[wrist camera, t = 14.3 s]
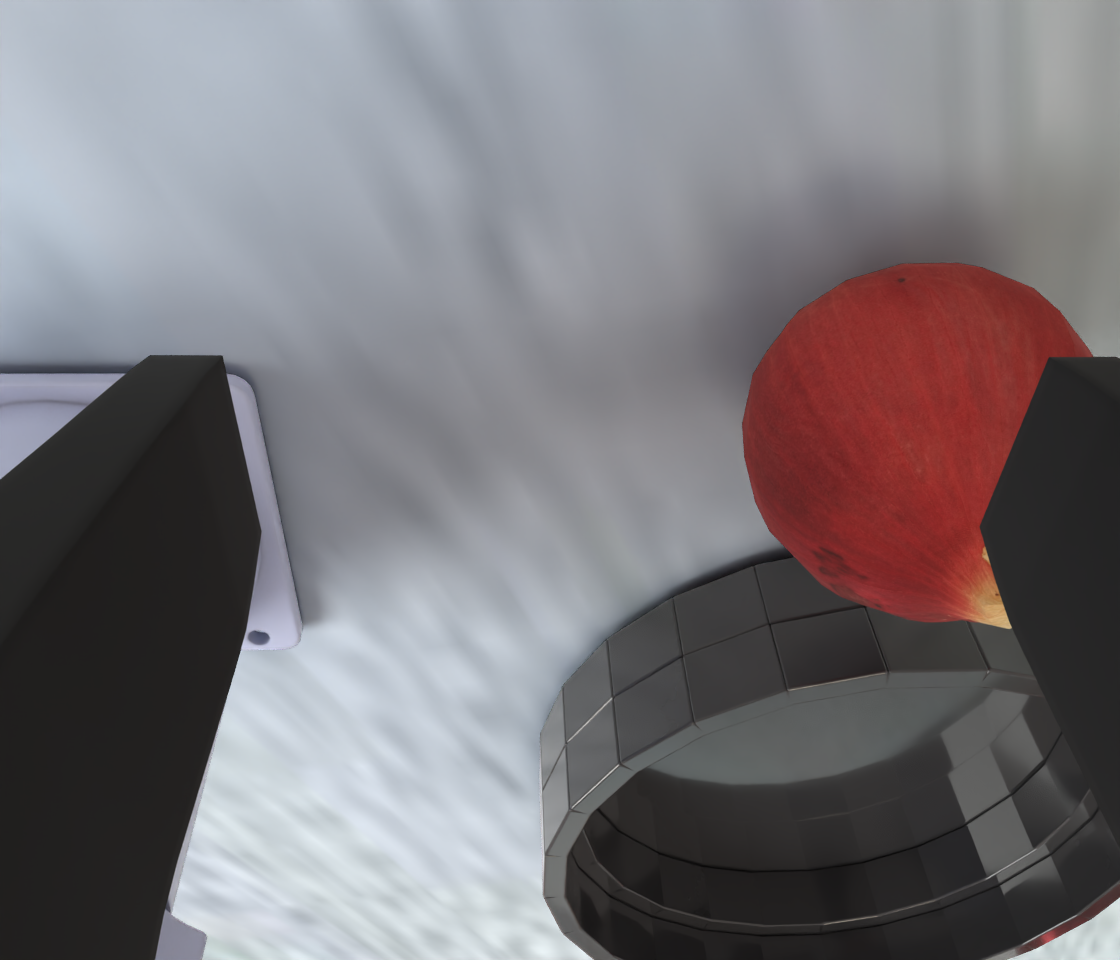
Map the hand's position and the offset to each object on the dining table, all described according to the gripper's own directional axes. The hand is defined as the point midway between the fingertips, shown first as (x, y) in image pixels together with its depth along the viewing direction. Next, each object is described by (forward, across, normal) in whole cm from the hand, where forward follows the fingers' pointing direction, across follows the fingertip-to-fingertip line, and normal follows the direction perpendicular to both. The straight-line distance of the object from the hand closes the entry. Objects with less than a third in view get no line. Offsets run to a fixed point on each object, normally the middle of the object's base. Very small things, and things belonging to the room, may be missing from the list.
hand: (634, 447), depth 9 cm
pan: (+10, -8, +19) cm, 23 cm away
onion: (+10, -6, +5) cm, 13 cm away
